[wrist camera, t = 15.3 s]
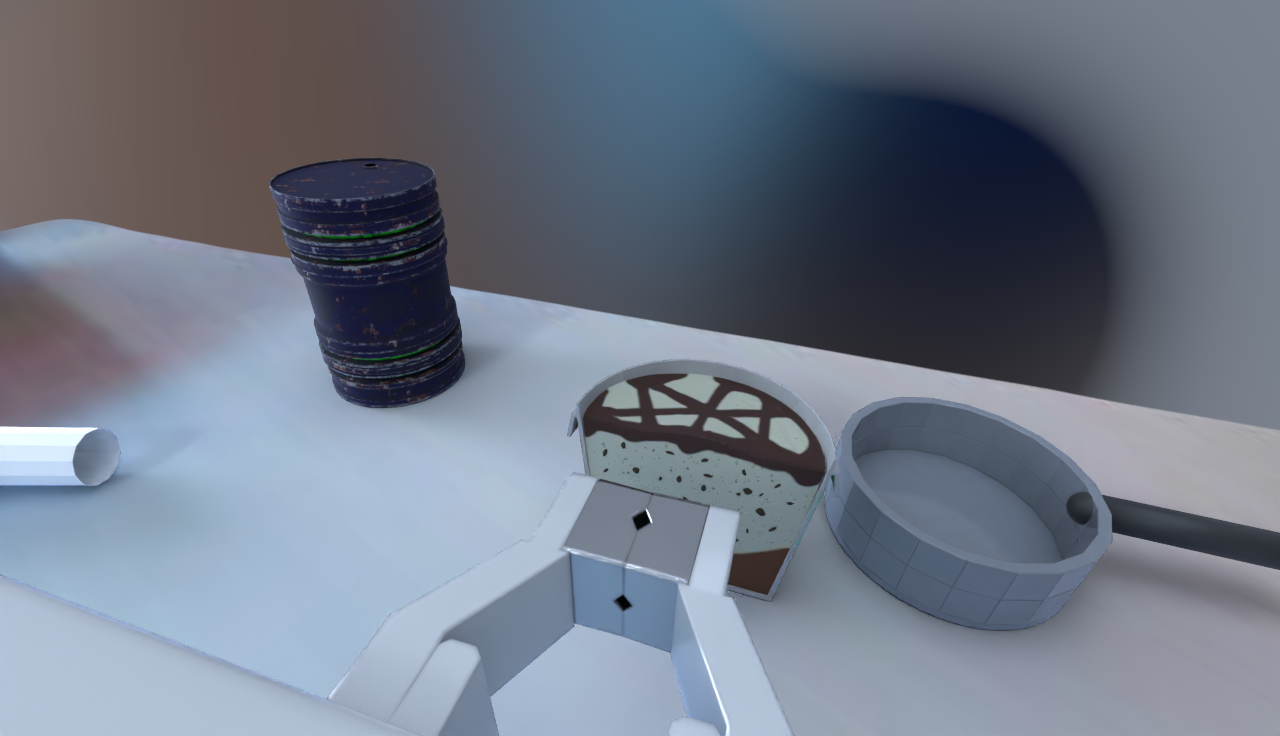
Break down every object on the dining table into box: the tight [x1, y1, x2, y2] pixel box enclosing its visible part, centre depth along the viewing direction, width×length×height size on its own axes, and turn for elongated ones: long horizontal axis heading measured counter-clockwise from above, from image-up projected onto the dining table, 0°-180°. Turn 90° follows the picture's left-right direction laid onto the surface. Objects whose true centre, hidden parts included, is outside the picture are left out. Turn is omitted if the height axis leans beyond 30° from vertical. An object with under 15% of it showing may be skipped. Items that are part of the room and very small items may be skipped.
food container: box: [567, 359, 839, 601], centre depth 29 cm, size 12×6×10 cm, turn 74°
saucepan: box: [824, 397, 1112, 630], centre depth 32 cm, size 13×13×4 cm
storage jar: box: [269, 158, 465, 408], centre depth 40 cm, size 10×10×15 cm
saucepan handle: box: [1066, 492, 1280, 570], centre depth 29 cm, size 12×2×2 cm, turn 73°
